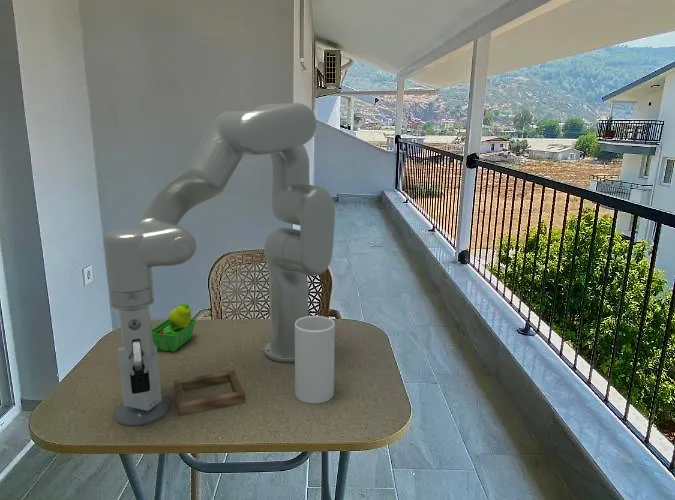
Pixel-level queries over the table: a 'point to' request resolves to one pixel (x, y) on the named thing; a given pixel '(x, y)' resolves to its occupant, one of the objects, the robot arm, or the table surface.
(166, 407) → the slate coaster
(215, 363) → the table surface
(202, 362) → the table surface
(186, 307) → the fruit basket
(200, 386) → the walnut holder
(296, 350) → the cup
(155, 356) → the skincare box
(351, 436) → the table surface
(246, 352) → the table surface
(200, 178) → the robot arm
